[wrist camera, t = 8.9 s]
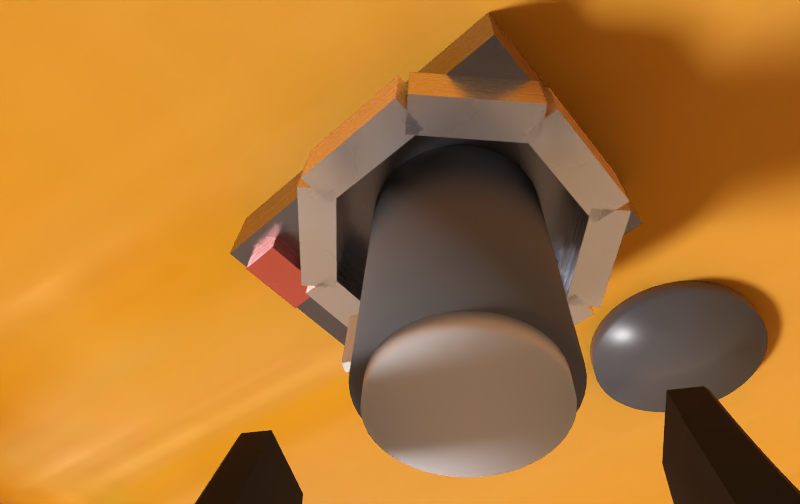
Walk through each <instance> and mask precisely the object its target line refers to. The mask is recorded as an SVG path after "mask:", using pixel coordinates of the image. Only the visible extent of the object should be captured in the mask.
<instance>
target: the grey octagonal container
mask: <svg viewBox="0 0 800 504" xmlns="http://www.w3.org/2000/svg"><path fill="white" fill-rule="evenodd" d="M451 145H467V146H476V147H481V148H485V149H488V150H491V151H494V152H497V153H499V154H501V155H503V156H505V157H506V158H508V159H510V160H511V161H512V162H514V163H515V164H517V165H518V166H519V167H520V168H521V169H522V170H523V171H524V172H525V173H526V175H527V176H528V177H529V178H530V180H531V182H532V183H533V185H534V187H535V189H536V191H537V194H538V197H539V200H540V204H541V207H542V211H543V215H544V218H545V222H546V226H547V229H548V233H549V236H550V240H551V244H552V247H553V251H554V255H555V258H556V262H557V265H558V269H559V273H560V276H561V280H562V284H563V287H564V291H565V294H566V298H567V302H568V305H569V309H570V312H571V316H572V320H573V323H574V325H575V324H577V323H579V322H580V321H582V320H584V319H586V318H588V317H590V316H591V315H593V314H594V313H593V310H592V307H600V306H601V303H602V300H603V297H604V294H605V290H606V287H607V284H608V281H609V278H610V275H611V272H612V269H613V266H614V263H615V259H616V256H617V253H618V250H619V247H620V244H621V241H622V238H623V235H624V234H625V233H627V232H629V231H630V230H632V229H634V228H635V227H637V226H639V225H640V224H642V222H641V220H640V218H639V216H638V214H637V212H636V211H635V209H634V207H633V205H632V203H631V201H630V199H629V197H628V195H627V193H626V191H625V189H624V188H623V186H622V185H621V184H620V182H619V180H618V178H617V176H616V174H615V172H614V171H613V170H612V168H611V167H610V166H609V165H608V163H607V162H606V161H605V159H604V158H603V157H602V155H601V154H600V153H599V152H598V150H597V149H596V148H595V146H594V145H593V144H592V142H591V141H590V140H589V139H588V137H587V136H586V135H585V133H584V132H583V131H582V129H581V128H580V127H579V126H578V124H577V123H576V122H575V120H574V119H573V118H572V116H571V115H570V114H569V113H568V111H567V110H566V109H565V107H564V106H563V105H562V104H561V102H560V101H559V100H558V98H557V97H556V96H555V94H554V93H553V92H552V91H551V89H550V88H549V87H547V88H546V87H545V86H544V84H543V83H542V82H541V80H540V79H539V78H538V76H537V75H536V74H535V73H534V71H533V70H532V69H531V67H530V66H529V65H528V64H527V62H526V61H525V60H524V58H523V57H522V56H521V54H520V53H519V52H518V51H517V49H516V48H515V47H514V45H513V44H512V43H511V42H510V40H509V39H508V38H507V36H506V35H505V34H504V32H503V31H502V30H501V29H500V27H499V26H498V25H497V23H496V22H495V21H494V20H493V18H492V17H491V16H490V14H489V13H487V14H486V15H485V16H484V17H483V18H481V19H480V20H479V21H478V22H477V23H476V24H474V25H473V26H472V27H471V28H470V29H468V30H467V31H466V32H465V33H464V34H463V35H461V36H460V37H459V38H458V39H457V40H456V41H454V42H453V43H452V44H451V45H450V46H448V47H447V48H446V49H445V50H444V51H443V52H441V53H440V54H439V55H438V56H437V57H436V58H434V59H433V60H432V61H431V62H430V63H429V64H427V65H426V66H425V67H424V68H423V69H421V70H420V71H419V72H410V75H409V81H407V82H406V83H405V82H404V81H403V80H402V79H401V78H400V77H399V76H397V77H396V78H395V79H394V80H393V81H392V82H391V83H389V84H388V85H387V86H386V87H385V88H384V89H382V90H381V91H380V92H379V93H378V94H377V95H375V96H374V97H373V98H372V99H371V100H370V101H369V102H367V103H366V104H365V105H364V106H363V107H362V108H360V109H359V110H358V111H357V112H356V113H355V114H353V115H352V116H351V117H350V118H349V119H348V120H347V121H345V122H344V123H343V124H342V125H341V126H340V127H338V128H337V129H336V130H335V131H334V132H333V133H331V134H330V135H329V136H328V137H327V138H326V139H325V140H323V141H322V142H321V143H320V144H319V145H318V146H316V147H315V148H314V149H313V150H312V151H311V152H310V155H309V158H308V160H307V161H306V164H305V167H304V169H303V171H302V172H300V173H299V174H298V175H297V176H296V177H295V178H293V179H292V180H291V181H290V182H289V183H288V184H286V185H285V186H284V187H283V188H282V189H280V190H279V191H278V192H277V193H276V194H275V195H273V196H272V197H271V198H270V199H269V200H268V201H266V202H265V203H264V204H263V205H262V206H261V207H259V208H258V209H257V210H256V211H255V212H253V213H252V214H251V215H250V216H249V217H248V218H246V220H245V222H244V225H243V227H242V229H241V231H240V233H239V235H238V237H237V240H236V242H235V244H234V246H233V248H232V250H231V252H230V254H231V255H233V256H234V257H235V258H236V259H238V260H239V261H240V262H241V263H243V264H244V265H245V266H246V269H247V270H248V271H250V272H251V273H252V274H253V275H255V276H256V277H257V278H258V279H260V280H261V281H262V282H263V283H265V284H266V285H267V286H268V287H270V288H271V289H272V290H273V291H275V292H276V293H277V294H278V295H280V296H281V297H282V298H283V299H285V300H286V301H287V302H288V303H290V304H291V305H292V306H293V307H295V308H296V307H297V308H298V309H300V310H301V311H302V312H303V313H305V314H306V315H307V316H308V317H310V318H311V319H312V320H313V321H315V322H316V323H317V324H318V325H320V326H321V327H322V328H323V329H325V330H326V331H327V332H328V333H330V334H331V335H332V336H333V337H335V338H336V339H337V340H338V341H340V342H341V343H342V344H343V345H345V341H346V335H347V329H348V323H349V317H350V316H352V315H358V313H359V307H360V300H361V294H362V287H363V280H364V274H365V267H366V261H367V254H368V248H369V241H370V235H371V228H372V222H373V215H374V209H375V204H376V200H377V197H378V195H379V192H380V190H381V188H382V186H383V185H384V183H385V181H386V180H387V179H388V178H389V176H390V175H391V174H392V173H393V172H394V171H395V170H396V169H397V168H398V167H399V166H400V165H402V164H403V163H404V162H406V161H407V160H408V159H410V158H412V157H414V156H416V155H418V154H420V153H422V152H425V151H427V150H430V149H434V148H438V147H443V146H451Z"/></svg>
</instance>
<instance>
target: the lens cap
mask: <svg viewBox="0 0 800 504" xmlns="http://www.w3.org/2000/svg"><path fill="white" fill-rule="evenodd" d="M767 340H768V339H767V331H766V328H765V325H764V323H763V321H762V320H761V318H760V316H759V315H758V313H757V312H756V310H755V309H754V307H753V306H752V304H751V303H750V302H749V301H748V300H747V299H746V298H745V297H744V296H742V295H741V294H740V293H738V292H736V291H735V290H733V289H731V288H728V287H726V286H723V285H720V284H716V283H712V282H704V281H680V282H672V283H667V284H662V285H659V286H655V287H652V288H649V289H647V290H644V291H641V292H639V293H637V294H635V295H633V296H631V297H630V298H628V299H626V300H625V301H623V302H622V303H620V304H619V305H618V306H616V307H615V308H614V309H613V310H612V311H611V312H610V313H609V314H608V315H607V316H606V317H605V318H604V319H603V320H602V322H601V323H600V324H599V326H598V328H597V329H596V331H595V334H594V336H593V338H592V342H591V349H590V355H591V362H592V365H593V369H594V372H595V375H596V378H597V381H598V383H599V384H600V386H601V387H602V389H603V390H604V391H605V392H606V393H607V394H608V395H609V396H610V397H612V398H613V399H615V400H616V401H618V402H620V403H622V404H624V405H626V406H629V407H632V408H635V409H639V410H644V411H652V412H665V408H666V390H671V389H681V388H690V387H700V386H704V387H706V388H707V389H709V390H710V391H711V392H712V393H713V395H714V396H715V397H716V398H717V400H718V399H720V398H722V397H724V396H726V395H728V394H730V393H731V392H733V391H734V390H736V389H737V388H738V387H740V386H741V385H742V384H744V383H745V382H746V381H747V380H748V379H749V378H750V377H751V376H752V375H753V374H754V372H755V371H756V370H757V368H758V367H759V365H760V364H761V362H762V360H763V358H764V356H765V352H766V349H767Z"/></svg>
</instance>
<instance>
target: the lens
mask: <svg viewBox="0 0 800 504" xmlns="http://www.w3.org/2000/svg"><path fill="white" fill-rule="evenodd" d="M342 365H343V367H344V370H345V372H349V389H350V395H351V398H352V401H353V404H354V406H355V408H356V410H357V412H358V414H359V415H360V416H361V418H362V419H363V422H364V425H365V427H366V429H367V431H368V433H369V435H370V436H371V437H372V439H373V440H374V441H375V442H376V443H377V444H378V445H379V446H380V447H381V448H382V449H383V450H384V451H385V452H387V453H388V454H389V455H390V456H392V457H394V458H395V459H397V460H398V461H400V462H402V463H404V464H406V465H409V466H411V467H413V468H416V469H419V470H422V471H425V472H429V473H433V474H438V475H444V476H452V477H484V476H491V475H498V474H502V473H507V472H510V471H513V470H517V469H520V468H522V467H525V466H527V465H529V464H532V463H534V462H535V461H537V460H539V459H541V458H543V457H544V456H545V455H547V454H548V453H550V452H551V451H552V450H553V449H554V448H556V447H557V446H558V445H559V444H560V443H561V442H562V440H563V439H564V438H565V437H566V436H567V434H568V432H569V431H570V429H571V427H572V425H573V422H574V420H575V416H576V412H577V410H578V409H579V407H580V405H581V403H582V400H583V398H584V395H585V390H586V379H587V374H586V369H585V363H584V360H583V356H582V352H581V349H580V345H579V341H578V338H577V334H576V331H575V327H574V323H573V320H572V316H571V312H570V309H569V305H568V302H567V298H566V294H565V291H564V287H563V284H562V280H561V276H560V273H559V269H558V265H557V262H556V258H555V255H554V251H553V247H552V244H551V240H550V236H549V233H548V229H547V226H546V222H545V218H544V215H543V211H542V207H541V204H540V200H539V197H538V194H537V191H536V189H535V187H534V185H533V183H532V182H531V180H530V178H529V177H528V176H527V175H526V173H525V172H524V171H523V170H522V169H521V168H520V167H519V166H518V165H517V164H515V163H514V162H512V161H511V160H510V159H508V158H506V157H505V156H503V155H501V154H499V153H497V152H494V151H491V150H488V149H485V148H481V147H476V146H467V145H451V146H443V147H438V148H434V149H430V150H427V151H425V152H422V153H420V154H418V155H416V156H414V157H412V158H410V159H408V160H407V161H406V162H404V163H403V164H402V165H400V166H399V167H398V168H397V169H396V170H395V171H394V172H393V173H392V174H391V175H390V176H389V178H388V179H387V180H386V181H385V183H384V185H383V186H382V188H381V190H380V192H379V195H378V197H377V200H376V204H375V209H374V215H373V222H372V228H371V235H370V241H369V248H368V254H367V261H366V267H365V274H364V280H363V287H362V294H361V300H360V307H359V313H358V315H352V316H350V317H349V323H348V329H347V335H346V341H345V347H344V353H343V358H342Z"/></svg>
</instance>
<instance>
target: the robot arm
mask: <svg viewBox="0 0 800 504" xmlns="http://www.w3.org/2000/svg"><path fill="white" fill-rule="evenodd" d="M662 464H663V467H664V471H665V474H666V478H667V481H668V485H669V489H670V492H671V496H672V499H673V502H674V504H800V491H799V490H798V489H797V488H796V487H795V486H794V485H793V484H792V483H791V482H790V481H789V480H788V479H787V478H786V476H785V475H784V474H783V473H782V472H781V471H780V470H779V469H778V468H777V467H776V466H775V465H774V464H773V463H772V462H771V461H770V459H769V458H768V457H767V456H766V455H765V454H764V453H763V452H762V451H761V449H760V448H759V447H758V446H757V445H756V444H755V443H754V442H753V441H752V439H751V438H750V437H749V436H748V435H747V434H746V433H745V432H744V430H743V429H742V428H741V427H740V426H739V425H738V423H737V422H736V421H735V420H734V419H733V418H732V416H731V415H730V414H729V413H728V412H727V410H726V409H725V408H724V407H723V406H722V404H721V403H720V402H719V401H718V400H717V398H716V397H715V396H714V395H713V393H712V392H711V391H710V390H709V389H707V388H706V387H704V386H700V387H690V388H681V389H671V390H666V408H665V426H664V443H663V461H662ZM302 499H303V493H302V491H301V489H300V487H299V485H298V483H297V481H296V479H295V477H294V475H293V473H292V471H291V469H290V467H289V465H288V463H287V461H286V459H285V457H284V455H283V453H282V451H281V449H280V447H279V444H278V442H277V440H276V438H275V436H274V434H273V432H272V430H269V431H259V432H249V433H241V435H240V436H239V437H238V439H237V440H236V442H235V443H234V445H233V446H232V448H231V449H230V451H229V452H228V454H227V455H226V457H225V458H224V460H223V461H222V463H221V464H220V466H219V468H218V469H217V471H216V472H215V474H214V475H213V477H212V478H211V480H210V481H209V483H208V484H207V486H206V487H205V489H204V490H203V492H202V493H201V495H200V497H199V498H198V500H197V501H196V503H195V504H302Z"/></svg>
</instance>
